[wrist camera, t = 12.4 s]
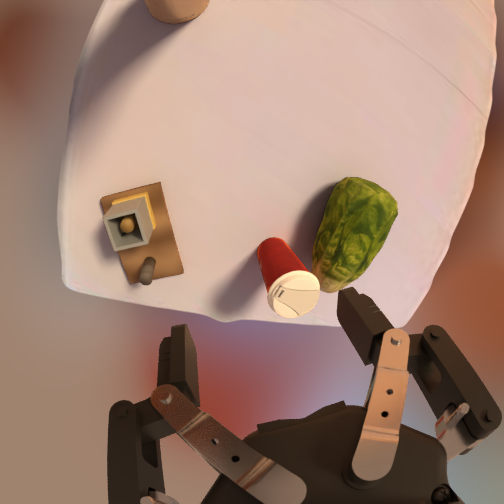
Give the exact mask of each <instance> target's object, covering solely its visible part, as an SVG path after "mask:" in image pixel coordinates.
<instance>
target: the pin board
mask: <svg viewBox="0 0 504 504" xmlns="http://www.w3.org/2000/svg"><path fill="white" fill-rule="evenodd" d="M144 192H148V196H149V200H150V204H151V208H152V211H153V215H154V219H155V222H156V227H155V229H153V231H152V234H151V237H150V240H149V243H148V244H146V245H141V246H137V247H132V248H128V249H123V250H119V251H118V253H119V256H120V259H121V261H122V264H123V266H124V269H125V271H126V274H127V276H128V279H129V281H130V284H132V283H137V282H141V283H142V284H143V285H150V284H151V282H152V280H153V279H158V278H163V277H168V276H173V275H178V274H183V273H184V269H183V266H182V262H181V259H180V255H179V252H178V248H177V245H176V241H175V238H174V234H173V230H172V226H171V223H170V219H169V215H168V211H167V207H166V203H165V199H164V195H163V191H162V186H161V182H158V183H154V184H150V185H146V186H142V187H138V188H134V189H130V190H126V191H123V192H119V193H115V194H112V195H108V196H105V197H102V198H101V199H100V200H101V203H102V206H103V210H104V213H105V214H106V213H107V211H108V210H109V209H110V208H111V206H112V202H113V201H114V200H117V199H121V198H125V197H128V196H132V195H136V194H140V193H144ZM123 217H124V218H123V220H122V222H121V224H120V228H121V230H122V231H123V232H125V233H129V232H131V231H132V230H133V228H134V226H136V225H138V221H137V218H136V214H135V213H133V214H129V215H125V216H123Z"/></svg>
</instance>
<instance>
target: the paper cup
mask: <svg viewBox="0 0 504 504" xmlns="http://www.w3.org/2000/svg"><path fill="white" fill-rule="evenodd" d="M257 256H258V260H259V264H260V268H261V271H262V275H263V278H264V282H265V285H266V289H267V293H268V296H267V300H268V304H269V306H270V307H271V309H272V310H273V311H275V312H276V313H277V314H279V315H280V316H283V317H286V318H295V317H299V316H302V315H304V314H306V313H307V312H309V311H310V310H311V309H312V308H313V307H314V306H315V304H316V303H317V301H318V298H319V290H320V285H319V281H318V279H317V278H316V277H315V276H314V275H313V274H312V273H310V272H309V271H308V270H307V269H306V267H305V266H304V265H303V264H302V262H301V261H300V260H299V258H298V257H297V256H296V255H295V253H294V252H293V251H292V250H291V248H290V247H289V246H288V245H287V244H286V243H285V242H284V241H283V240H282V239H280V238H275V237H273V238H268V239H266V240H265V241H263V242H262V243H261V244H260V246H259V248H258V251H257Z"/></svg>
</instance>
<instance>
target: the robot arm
mask: <svg viewBox="0 0 504 504" xmlns="http://www.w3.org/2000/svg"><path fill="white" fill-rule="evenodd" d="M144 1H145V3H146V5H147V7H148V9H149V11H150V13H151V14H152V16H153V17H155V18H156V19H157V20H159V21H161V22H165V23H172V24H176V23H183V22H187V21H189V20H192V19H194V18H196V17H197V16H199V15H200V14H201V13H202V12H203V11H204V10H205V9H206V7H207V6H208V3H209V0H144ZM337 317H338V320H339V322H340V324H341V326H342V327H343V329H344V331H345V332H346V334H347V336H348V337H349V339H350V341H351V342H352V344H353V346H354V347H355V349H356V351H357V352H358V354H359V356H360V357H361V359H362V361H363V363H364V364H365V366H366V365H369V364H371V363H372V364H373V365H374V370H373V374H372V378H371V382H370V386H369V390H368V394H367V397H366V401H365V404H364V407H362V406H355V405H347V406H346V405H345V403H344V401H340V402H338V403H335V404H332V405H329V406H325V407H323V408H321V409H319V410H318V411H316V412H314V413H313V414H311V415H309V416H307V417H305V418H302V419H285V420H276V421H271V422H267V423H262V424H258V425H257V428H258V430H257V431H255V432H253V433H251V434H249V435H248V436H247V437H245V438H244V439H243V440H241V439H239V438H238V437H237V436H235V435H234V434H233V433H232V432H230V431H229V430H228V429H226V428H225V427H224V426H222V425H221V424H220V423H219V422H218V421H216V420H215V419H214V418H213V417H212V416H211V415H209V414H208V413H204V412H202V411H201V410H200V409H199V408H198V407H200V399H199V385H198V370H197V354H196V349H195V345H194V342H193V339H192V337H191V334H190V332H189V329H188V327H187V325H186V324H182V325H176V326H172V328H171V337H165V338H164V339H163V341H162V342H161V344H160V348H159V363H158V378H157V388H156V389H155V390H154V391H153V392H152V394H151V397H149V398H148V399H146V400H143V401H141V402H138V403H136V404H132V403H131V402H130V401H126V400H122V401H118V402H116V403H115V404H114V405H113V406H112V407H111V409H110V412H109V424H108V425H109V426H108V453H107V470H108V471H107V476H108V500H109V504H179V503H178V502H177V501H176V500H175V499H174V498H172V497H170V496H168V495H166V494H165V487H164V479H163V470H162V461H161V451H160V439H161V438H164V437H166V436H169V435H171V434H174V433H177V434H178V435H179V436H180V437H181V438H182V439H183V440H184V441H185V442H186V443H187V444H188V445H189V446H190V447H191V448H192V449H193V450H194V451H195V452H196V453H197V454H198V455H199V456H200V457H201V458H202V459H203V460H205V461H206V462H207V463H208V464H209V465H210V466H211V467H212V468H213V469H215V470H216V471H217V472H218V473H219V474H220V475H219V476H218V478H217V480H216V481H215V483H214V484H213V486H212V487H211V489H210V490H209V492H208V493H207V495H206V496H205V498H204V499H203V501H202V502H201V504H465V503H464V502H463V501H462V500H461V499H460V498H459V497H458V496H457V495H456V494H455V492H454V491H453V490H452V489H451V487H450V486H449V483H448V478H447V461H449V460H450V459H452V458H454V457H455V456H457V455H458V454H459V455H463V454H466V453H468V452H469V451H470V450H472V449H473V448H474V447H475V446H477V445H478V444H479V443H480V442H481V441H483V440H484V439H485V438H486V437H487V436H489V435H490V434H491V433H492V432H493V431H494V430H495V429H496V428H498V426H499V425H500V423H501V420H502V414H501V411H500V409H499V407H498V406H497V404H496V402H495V401H494V399H493V398H492V396H491V395H490V393H489V392H488V390H487V389H486V387H485V385H484V384H483V382H482V381H481V379H480V378H479V377H478V375H477V373H476V372H475V371H474V369H473V368H472V367H471V365H470V363H469V362H468V361H467V359H466V358H465V356H464V355H463V354H462V353H461V351H460V350H459V349H458V347H457V346H456V344H455V343H454V342H453V341H452V339H451V338H450V336H449V335H448V334H447V333H446V331H445V330H444V329H443V328H441V327H440V326H437V325H430V326H427V327H426V328H425V329H424V331H423V333H422V334H413V335H408V334H407V333H406V332H405V331H403V330H401V329H396V328H394V327H393V326H392V324H391V323H390V322H389V320H388V319H387V318H386V317H385V315H384V314H383V313H382V311H380V309H379V308H378V306H376V304H375V303H374V301H373V300H372V299H371V298H370V297H368V296H366V295H365V294H360V295H359V294H358V292H357V291H356V290H355V288H353V287H350V288H346V289H342V290H339V292H338V304H337ZM411 373H412V375H413V377H414V378H415V380H416V382H417V384H418V385H419V387H420V389H421V391H422V392H423V394H424V396H425V398H426V400H427V401H428V403H429V405H430V407H431V409H432V411H433V412H434V414H435V416H436V418H437V422H436V424H435V431H436V436H437V439H436V438H434V437H432V436H430V435H427V434H425V433H422V432H420V431H417V430H415V429H413V428H410V427H408V426H406V425H403V424H401V419H402V414H403V409H404V403H405V397H406V391H407V383H408V377H409V374H411Z"/></svg>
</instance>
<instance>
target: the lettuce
mask: <svg viewBox="0 0 504 504" xmlns="http://www.w3.org/2000/svg"><path fill="white" fill-rule="evenodd" d="M397 215H398V208H397V201H396V200H395V199H394V198H393V196H392V195H391V194H390V193H389V192H388V191H386V190H385V189H383V188H382V187H380V186H379V185H377V184H376V183H374V182H371V181H368V180H365V179H362V178H358V177H345V178H344V179H343V180H341V181H340V182H339V183H338V184H337V185H336V186H335V188H334V190H333V191H332V193H331V195H330V197H329V200H328V203H327V206H326V209H325V213H324V217H323V220H322V223H321V225H320V228H319V230H318V233H317V235H316V238H315V242H314V246H313V252H312V272H311V273H312V274H313V275H314V276H315V277H316V278H317V279H318V281H319V285H320V290H321V291H323V292H326V293H333V292H336V291H339V290H341V289H343V288H344V287H345V286H347V285H348V284H349V283H351V282H352V281H354V280H356V279H358V278H359V277H360V276H361V275H362V274H363V273H364V272H365V270H366V269H367V268H368V266H369V265H370V263H371V262H372V260H373V259H374V257H375V256H376V255H377V253H378V252H379V251H380V249H381V248H382V246H383V244H384V242H385V240H386V238H387V236H388V233H389V231H390V229H391V226H392V224H393V222H394V220H395V218H396V217H397Z"/></svg>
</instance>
